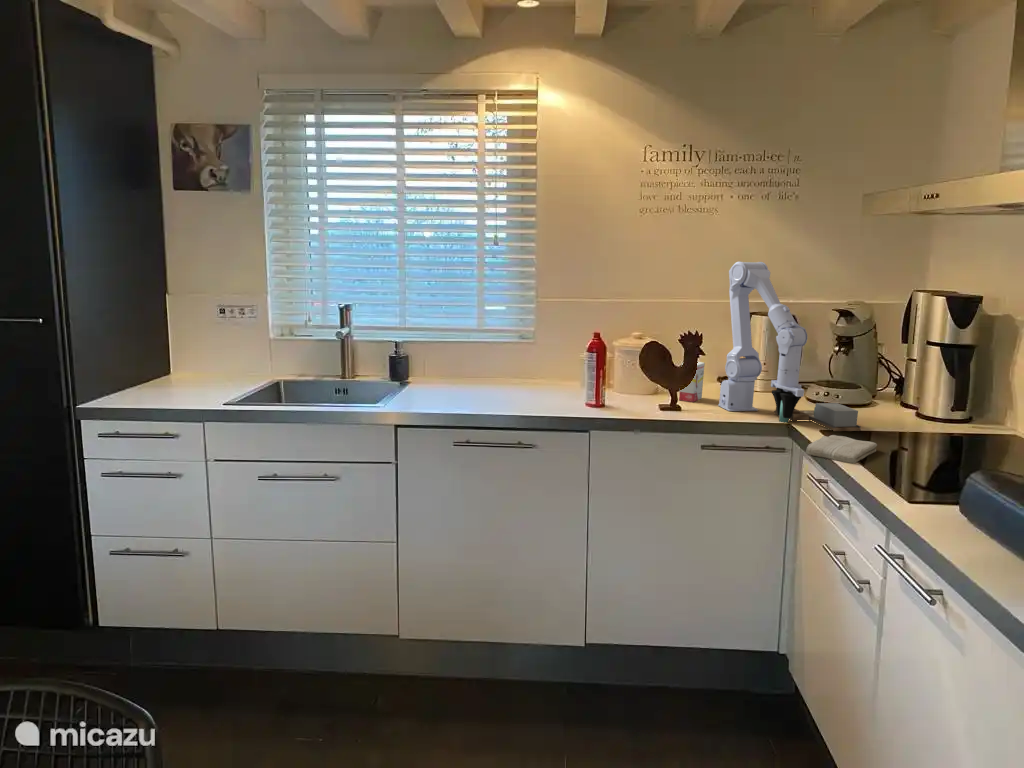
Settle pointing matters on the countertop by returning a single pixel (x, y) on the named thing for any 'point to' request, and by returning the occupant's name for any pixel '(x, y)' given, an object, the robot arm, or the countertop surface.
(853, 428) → the plate
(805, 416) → the build board
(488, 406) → the countertop surface
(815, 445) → the washcloth
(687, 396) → the ink box
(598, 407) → the countertop surface
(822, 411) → the grey rectangular block
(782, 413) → the peg
